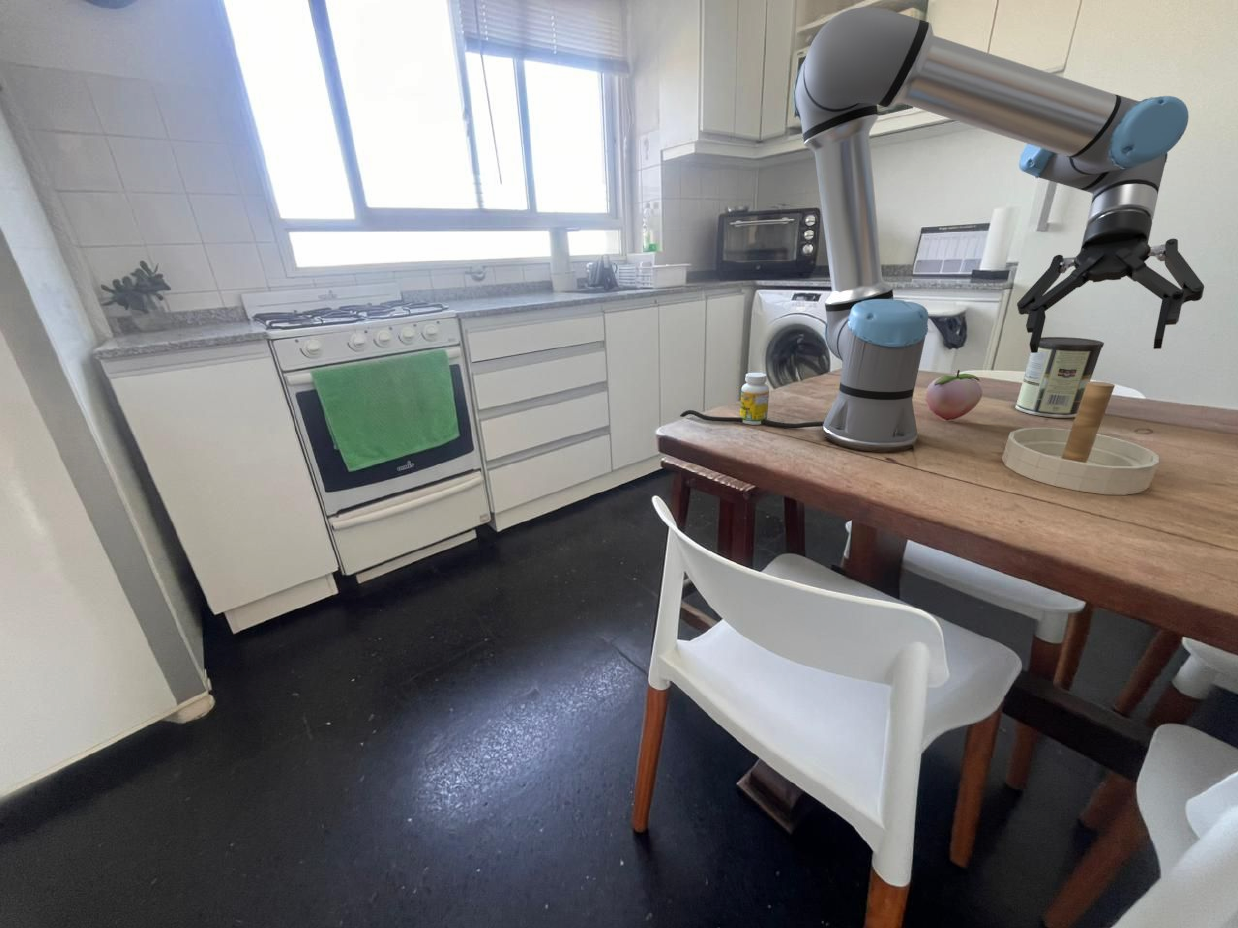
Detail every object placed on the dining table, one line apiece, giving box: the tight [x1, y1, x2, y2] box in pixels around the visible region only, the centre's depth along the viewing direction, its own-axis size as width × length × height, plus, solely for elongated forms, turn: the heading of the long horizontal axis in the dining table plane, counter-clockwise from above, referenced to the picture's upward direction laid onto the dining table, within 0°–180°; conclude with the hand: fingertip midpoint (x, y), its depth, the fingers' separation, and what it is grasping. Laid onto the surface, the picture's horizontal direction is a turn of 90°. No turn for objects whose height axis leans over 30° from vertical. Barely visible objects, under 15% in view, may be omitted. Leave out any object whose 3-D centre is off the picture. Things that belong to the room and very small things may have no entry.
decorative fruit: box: [925, 369, 983, 421], centre depth 95 cm, size 9×8×10 cm
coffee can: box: [1014, 336, 1105, 419], centre depth 98 cm, size 10×10×14 cm
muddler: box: [1061, 380, 1116, 464], centre depth 70 cm, size 5×5×13 cm
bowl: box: [1001, 427, 1160, 496], centre depth 72 cm, size 16×16×4 cm
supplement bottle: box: [739, 372, 770, 426], centre depth 98 cm, size 5×5×10 cm
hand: (1091, 346), depth 74 cm, fingers open, 13 cm apart
